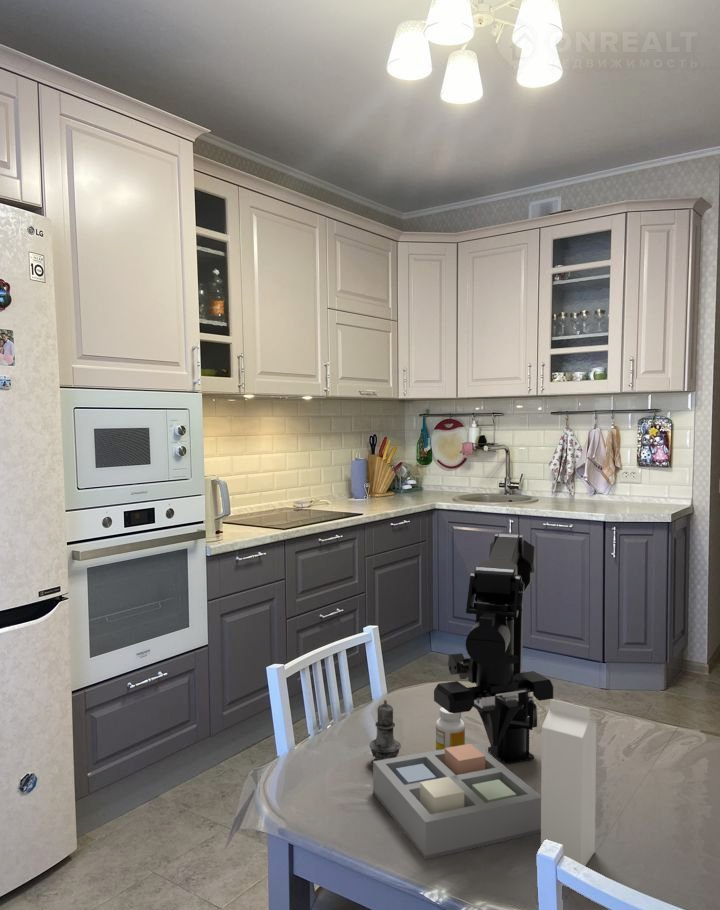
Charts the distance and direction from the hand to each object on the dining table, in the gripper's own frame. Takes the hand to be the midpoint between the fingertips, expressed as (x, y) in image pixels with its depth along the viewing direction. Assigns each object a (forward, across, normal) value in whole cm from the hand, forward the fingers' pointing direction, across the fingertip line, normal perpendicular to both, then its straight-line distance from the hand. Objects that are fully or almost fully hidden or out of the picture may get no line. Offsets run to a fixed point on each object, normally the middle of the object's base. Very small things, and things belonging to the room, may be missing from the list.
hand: (493, 745), depth 108 cm
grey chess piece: (+12, +8, -24) cm, 28 cm away
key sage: (+11, 0, 0) cm, 11 cm away
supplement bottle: (+12, -4, -21) cm, 24 cm away
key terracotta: (+9, 0, -9) cm, 13 cm away
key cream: (+9, +9, 0) cm, 13 cm away
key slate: (+11, +9, -9) cm, 17 cm away
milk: (+12, -6, +11) cm, 18 cm away
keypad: (+12, +4, -5) cm, 14 cm away
